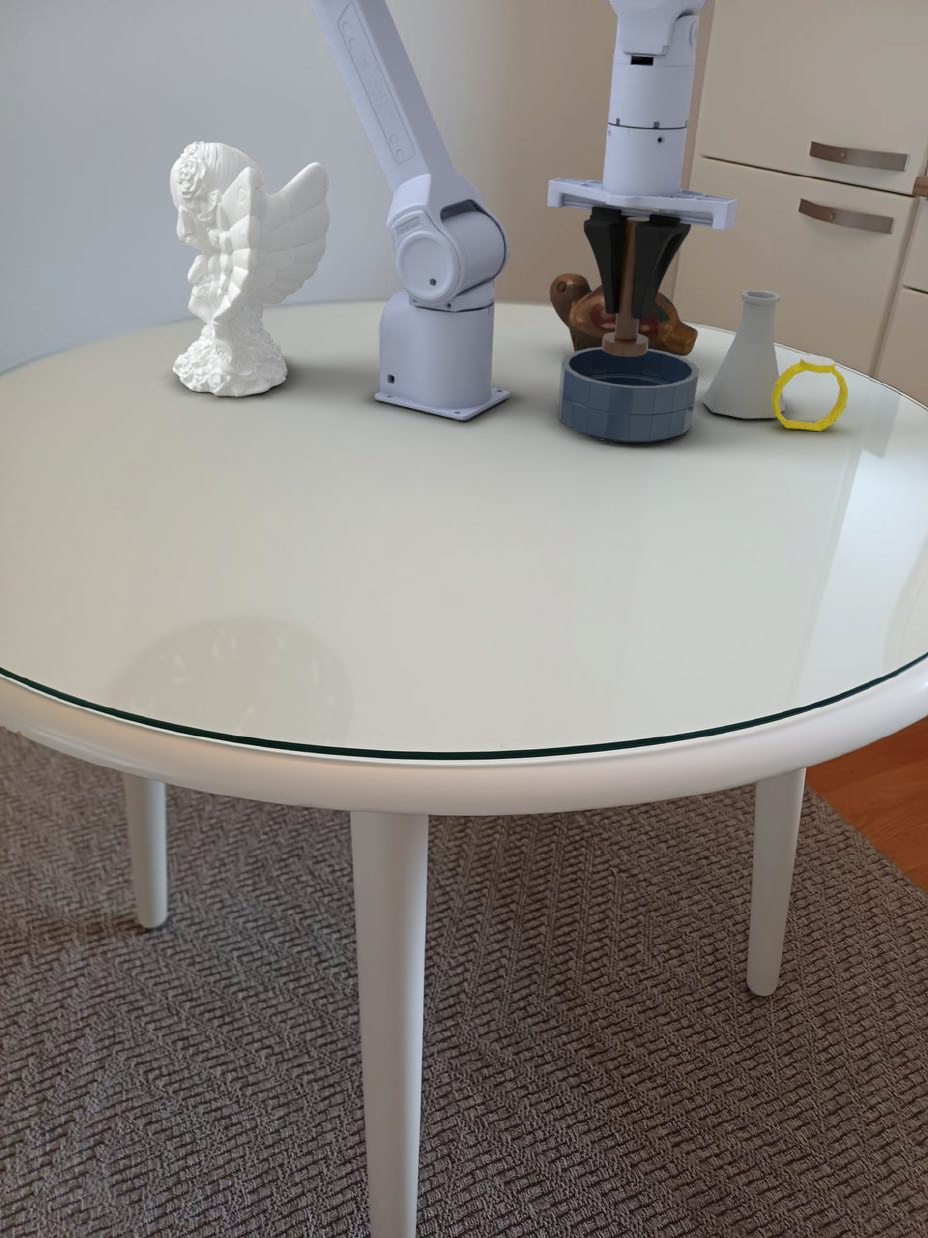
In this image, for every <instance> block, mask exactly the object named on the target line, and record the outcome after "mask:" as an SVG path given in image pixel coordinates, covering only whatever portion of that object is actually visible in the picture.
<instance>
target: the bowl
mask: <svg viewBox="0 0 928 1238" xmlns="http://www.w3.org/2000/svg"><path fill="white" fill-rule="evenodd" d="M560 366H561V367H560V379H559V393H558V406H557V407H558V408H557V414H558V416H559V419H560V421H561V422H562V423H564V424H565V425H567V426H568V427H569V428H571V429H573V430H575V431H578V432H579V433H581V434H583V435H586V436H588V437H591V438H594V439H598V440H602V441H607V442H612V443H620V444H647V443H655V442H660V441H664V440H667V439H670V438H671V439H672V438H673V437H676V436H680V435H682V434H684V433H685V432H687V431H688V430H689V429H690V428H691V427H692V424H693V419H694V417H693V416H694V411H695V402H696V396H697V388H698V382H699V374H700V369H699V368H698V367H697V365H696V364H695V363H694V362H693V361H690V360H688V359H687V358H685V357H684V356H679V355H674V354H671V353H668V352H663V351H658V350H653V349H647V353H646V354H645V355H642V356H637V357H621V356H615V355H611V354H608V353H606V352H604V351H603V350H602V347H596V348H588V349H584V350H580V351H576V352H575V351H573V352H571V353H569V354H567V355H565V356H564V358H563V360H562V361H561V365H560Z"/></svg>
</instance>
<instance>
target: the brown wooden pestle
mask: <svg viewBox="0 0 928 1238" xmlns="http://www.w3.org/2000/svg"><path fill="white" fill-rule="evenodd" d="M643 223H649V218H641V217H630V218H627V219H626V226H625V236H624V246H623V256H622V266H621V276H620V286H619V296H618V306H617V316H616V326H615V332H611V333H607V334H605V335H604V336H603V342H602V350H603V351H604V352H606V353H608V354H611V355H615V356H621V357H637V356H642V355H645V354H646V353H647V349H648V338H647V337H646V336H644V335H641V334H638V327H639V319H634V318H633V299H634V291H635V283H636V269H637V258H636V240H635V226H638V225H641V224H643Z"/></svg>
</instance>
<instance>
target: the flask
mask: <svg viewBox="0 0 928 1238" xmlns="http://www.w3.org/2000/svg"><path fill="white" fill-rule="evenodd" d="M781 298H782V295H781V294H779V293H778V292H777V291H772V290H766V289H745V290H744V291H743V292H742V293H741V300H742V301H743V307H742V313H741V318H740V322H739V323H738V327H737V330H736V333H735V336H734V338H733V340H732V342H731V344H730V347H729V348H728V350H727V352H726V355H725V356H724V359H723V360H722V362H721V365H720V366H719V368H718V370H717V372H716V374H715V375H714V378H713V379H712V381H711V383H710V385H709V387H708V388H707V390H706V392H705V394H704V396H703V398H702V400H701V401H702V402H703V404H704V405H705V406H706V407H707V408H708V409H709V411H711V413H714V414H715V413H716V414H721V415H726V416H731V417H735V418H740V419H777V416H776V415H775V413H774V411H773V406H772V400H771V397H772V392H773V389H774V386H775V383H776V381H777V379H778V378H779V377H780V373H779V372H780V371H779V367H778V366H779V365H778V359H777V353H776V347H775V341H774V339H775V338H774V337H775V336H774V333H775V332H774V328H775V327H774V318H775V312H776V306H777V304H778V303H780V300H781ZM779 406H780V412H781V413H783V411H785V409H786V404H785V398H784V393H783V391H782V393H781V396H780V399H779Z"/></svg>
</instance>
